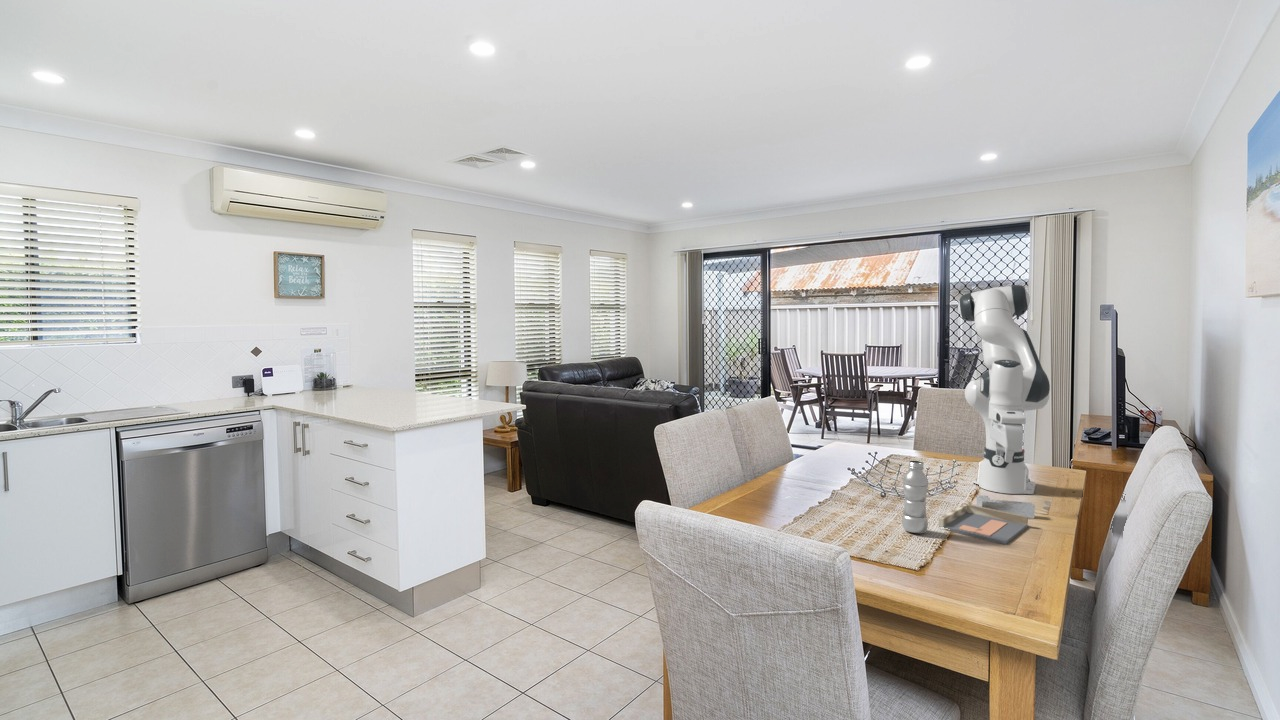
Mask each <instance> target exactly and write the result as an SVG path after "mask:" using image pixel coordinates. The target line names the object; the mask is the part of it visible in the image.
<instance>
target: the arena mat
mask: <svg viewBox="0 0 1280 720" xmlns="http://www.w3.org/2000/svg"><path fill="white" fill-rule="evenodd" d="M941 527H942V526H941ZM943 527H944V528H948V529H950V531H949V532H953V533H957V534H959V535H960V534H961V535H964V536H968V537H972V538H977V539H980V540H985V541H989V542H992V543H993V542H994V543H997V544H1000V545H1001V544H1002V545H1007V544H1008V543H1009V542H1011V541H1013V539H1014V538H1016V537H1017V536H1018V535H1020V534H1021V533H1022V532H1023V531H1025V530H1026V529H1027V528H1028V527H1027V525H1024V524H1019V523H1015V522H1010V521H1006V520H1001V519H996V518H992V517H987V516H983V515H978V514H973V513H969V512H966V513H965V514H963V515H962V516H960V517H958V518H957V519H955V520H953V521H952V522H950V523H948V524H947V525H945V526H943Z"/></svg>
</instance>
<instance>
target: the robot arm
mask: <svg viewBox="0 0 1280 720" xmlns="http://www.w3.org/2000/svg"><path fill="white" fill-rule="evenodd" d="M1030 302H1031V297H1030V294H1029V291H1028V290H1027V289H1026V288H1025V286H1023V285H1022V284H1021V285H1020V284H1011V285H1009V286H1007V285H1006V286H995V287H991V288H987V289H981V290H978V291H974V292H967V293H965V294H963V295H961V297H960V298H959V301H958V304H957V307H958V308H957V309H958V313H959V314H960V316H961V317H962V320H964V321H966V322H974V327H975V331H976V334H977V335H978V337H979V338H980V339H981V347H982V348H981V349H982V357H983V363H984V365H985V367H986V368H987V370H986V371H984V372H983V373H982V374H981V375H980V378H979V379H974V380H971V381H969V382H968V383H967V385H966V387H965V389H964V398H965V401H966V403H967V404H968V405H969V406H970V407H971V408H973V409H974V410H975V411H976V412H977V413H978V414H979V415H980V417H981V419H982V422H983V424H984V429H985V446H984V449H983V457H984V458H983V459H982V460H981V461H979V463H978V471H977V472H978V473H977V479H974V480H973V481H972V483H973V482H974V483H977V484H979V486H978V487H980V488H981V489H984V490H987V491H990V492H995V493H1000V494H1010V495H1011V494H1013V495H1019V494H1021V495H1022V494H1025V495H1034V493H1035V489H1036V485H1037V484H1036V482H1035V481H1032V480H1031V479H1030V478H1029V477H1030V475H1029V474H1030V473H1029V472H1030V471H1029V470H1030V469H1029V467H1028V466H1027V464H1026V463H1025V448H1024V449H1023V445H1024V444H1023V441H1024V425H1026V422H1027V421H1026V419H1027V418H1026V416H1025V414H1024V411H1025V412H1028V411H1035V410H1036V411H1037V410H1040V409H1043V408H1045V406H1046V405H1047V404H1048V401H1049V399H1050V392H1051V391H1050V390H1051V385H1050V380H1049V377H1048V375H1047V373H1046V372H1045V370H1044V368H1043V367H1042V365H1041V362H1040V359H1039V357H1038V354H1037V352H1036V349H1035V347H1034V344H1033V341H1032V340H1031V338H1030V335H1029V333H1028V332H1027V330H1025V329H1024V328H1021V327H1020V326H1019V325H1018V324H1017V323H1016V322H1015V320H1014V317H1016V321H1017V320H1020V317H1021V316H1023V315H1024V314H1025V313H1026V312H1027V311H1028V309H1029V306H1030Z"/></svg>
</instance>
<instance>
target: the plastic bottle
mask: <svg viewBox="0 0 1280 720" xmlns="http://www.w3.org/2000/svg"><path fill="white" fill-rule="evenodd" d="M907 468H908V469H909V470H908V471H906V473H905V474H904V476H903V477H902V484H903V492H904V493H903V494H904V497H903V498H904V506H903V513H902V514H903V515H902V516H901V517H902V518H901V525H902V528H903V530H905V531H907V532H908V533H913V534H925V532H927V530H928V528H929V527H928V526H929V523H928V517H927V507H926V506H927V494H928V488H929V479H928V477H927V475H926V474H925V472H924V471H923V470H924V469H925V468H924V462H923V461H920V460H909V461H908V467H907Z"/></svg>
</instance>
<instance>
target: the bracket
mask: <svg viewBox="0 0 1280 720" xmlns="http://www.w3.org/2000/svg"><path fill="white" fill-rule="evenodd" d="M975 506H980V507H984V508H989V509H994V510H999V511H1004V512H1008V513H1013V514H1018V515H1023V516H1027V517H1028V519H1032V518H1034V519H1035V514H1036V513H1035V511H1036V505H1035V504H1034V503H1033V502H1026V501H1025V502H1024V501H1017V500H1016V501H1015V500H1005V499H1004V500H1001V499H991V498H990V497H989V496H988V495H984V494H983V495H980V494H976V504H975Z"/></svg>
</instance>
